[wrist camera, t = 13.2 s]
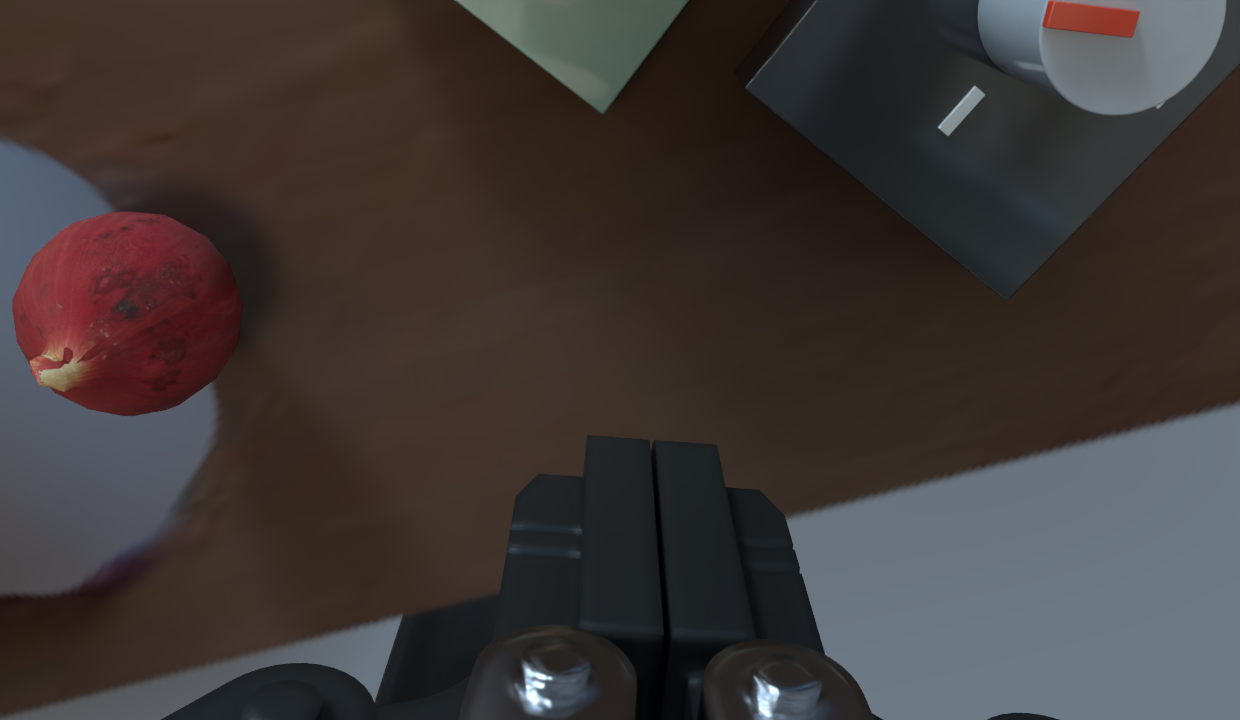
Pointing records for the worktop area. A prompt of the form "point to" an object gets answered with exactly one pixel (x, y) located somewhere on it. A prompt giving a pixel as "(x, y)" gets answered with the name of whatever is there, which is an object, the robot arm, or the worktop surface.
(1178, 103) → the panel
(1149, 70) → the burner knob
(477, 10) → the block
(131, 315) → the red round fruit
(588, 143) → the worktop surface
